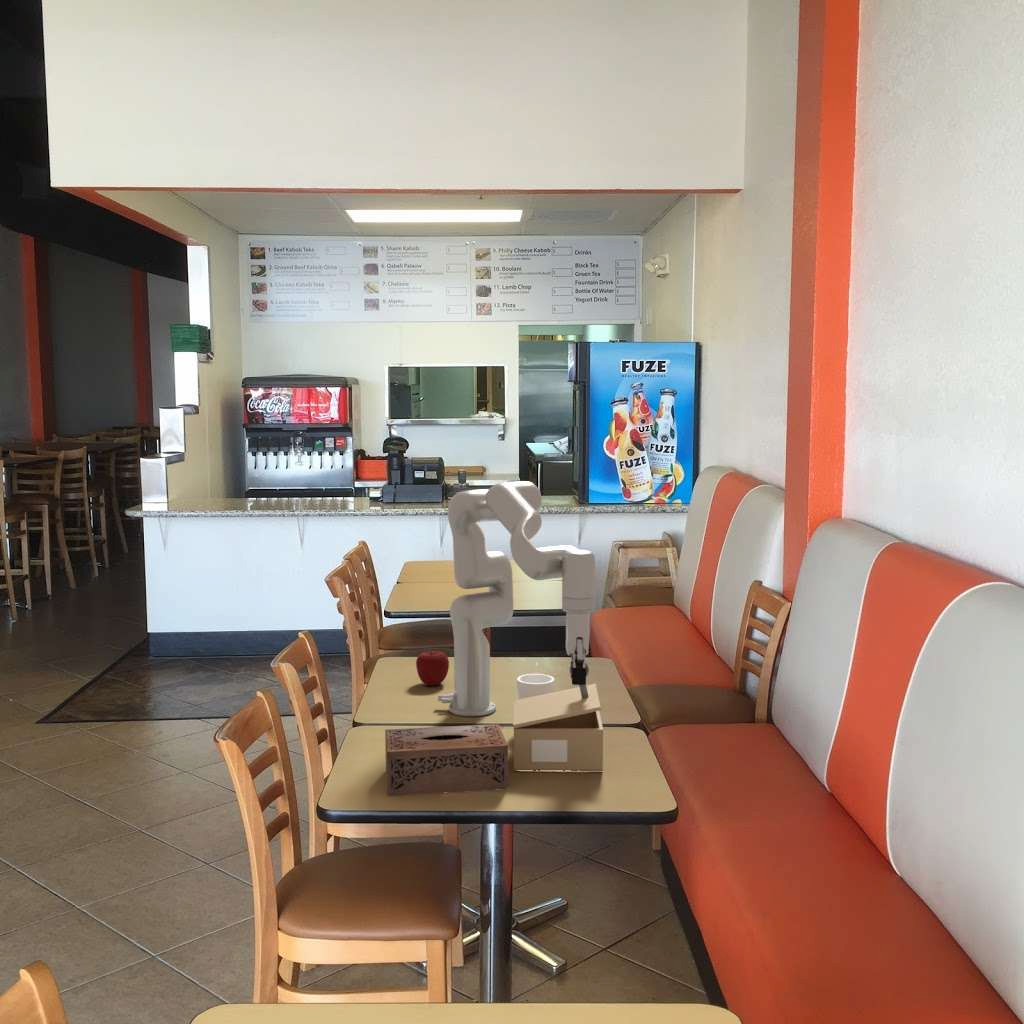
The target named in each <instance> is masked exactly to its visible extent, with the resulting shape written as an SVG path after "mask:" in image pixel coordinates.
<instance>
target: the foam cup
mask: <svg viewBox="0 0 1024 1024" xmlns="http://www.w3.org/2000/svg"><path fill="white" fill-rule="evenodd" d="M516 688H517V690H518V698H519V699H524V698H528V697H533V696H538V695H543V694H548V693H552V692H554V689H555V678H554V676H552V675H548V674H544V673H529V674H527V673H525V674H522V675H519V676H518V677H517V678H516ZM519 699H518V700H519Z"/></svg>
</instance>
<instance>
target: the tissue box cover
mask: <svg viewBox="0 0 1024 1024" xmlns="http://www.w3.org/2000/svg"><path fill="white" fill-rule="evenodd" d="M384 733H385V734H384V736H385V740H384V741H385V742H384V743H385V749H384V751H385V778H386V779H385V780H386V788H387V789H386V792H387V797H398V796H415V795H432V794H433V795H434V793H435V794H445V793H444V792H449V793H450V794H451V793H466V792H465V791H469V792H483V790H486V791H496V790H495V789H502V790H508V789H509V745H508V742H507V740H506V738H505V736H504V733H503V731H502V728H501V726H500V724H499V723H498V724H497V723H495V724H494V723H493V724H472V725H471V724H470V725H456V726H454V725H453V726H451V725H450V726H435V727H434V726H432V727H431V726H429V727H413V728H393V729H392V728H391V729H384ZM507 788H508V789H507Z"/></svg>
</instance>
